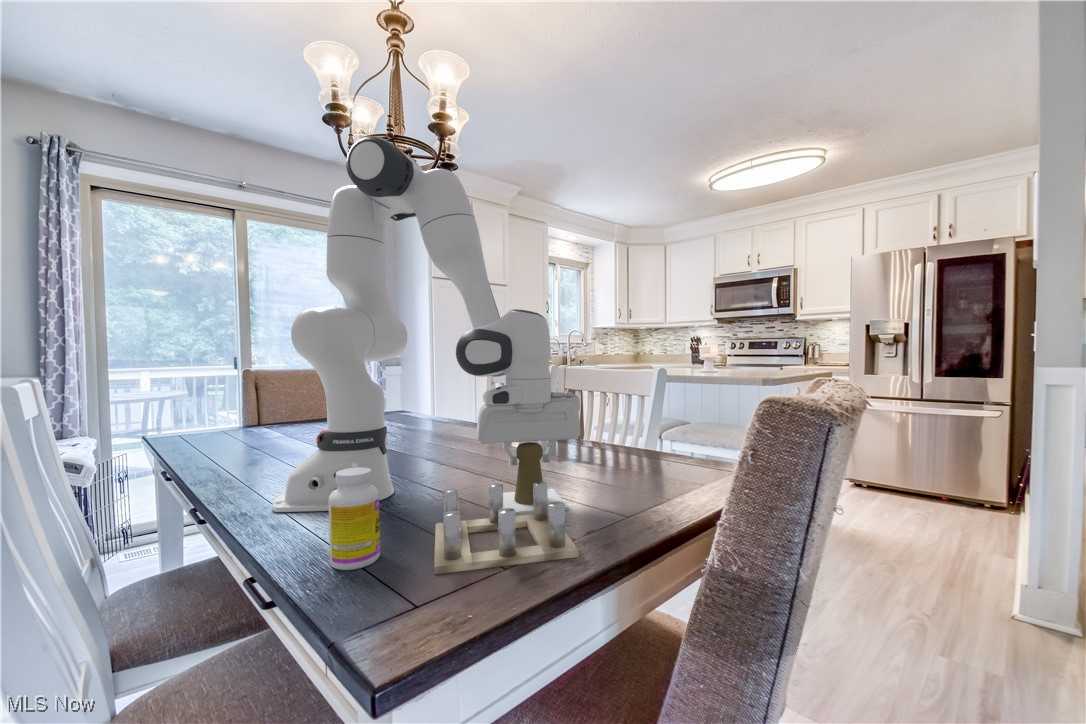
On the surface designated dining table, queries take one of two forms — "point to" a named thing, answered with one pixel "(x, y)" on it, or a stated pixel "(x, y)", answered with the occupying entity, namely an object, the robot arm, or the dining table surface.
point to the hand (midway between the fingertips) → (529, 463)
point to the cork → (528, 471)
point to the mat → (528, 508)
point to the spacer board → (493, 558)
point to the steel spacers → (503, 520)
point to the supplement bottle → (354, 520)
